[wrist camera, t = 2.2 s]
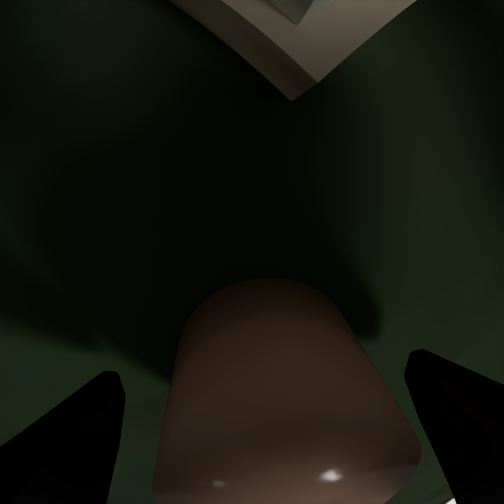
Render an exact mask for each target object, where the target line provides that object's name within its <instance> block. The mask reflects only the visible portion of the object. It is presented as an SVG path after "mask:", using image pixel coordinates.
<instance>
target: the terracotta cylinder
mask: <svg viewBox="0 0 504 504" xmlns="http://www.w3.org/2000/svg"><path fill="white" fill-rule="evenodd" d="M420 457H421V446H420V441H419V439H418V438H417V436H416V434H415V432H414V431H413V429H412V427H411V426H410V424H409V422H408V420H407V419H406V417H405V415H404V414H403V412H402V410H401V409H400V407H399V405H398V404H397V402H396V400H395V399H394V397H393V395H392V394H391V392H390V390H389V389H388V387H387V385H386V384H385V382H384V380H383V379H382V377H381V376H380V374H379V372H378V371H377V369H376V367H375V366H374V364H373V363H372V361H371V359H370V358H369V356H368V355H367V353H366V351H365V350H364V348H363V347H362V345H361V343H360V342H359V340H358V339H357V337H356V335H355V334H354V332H353V331H352V329H351V328H350V326H349V325H348V323H347V321H346V320H345V318H344V317H343V315H342V314H341V312H340V311H339V309H338V307H337V306H336V305H335V304H334V303H333V302H332V300H331V299H330V298H328V297H327V296H326V295H325V294H323V293H322V292H321V291H319V290H317V289H315V288H314V287H312V286H309V285H307V284H305V283H302V282H299V281H295V280H291V279H284V278H256V279H250V280H246V281H241V282H238V283H235V284H232V285H229V286H227V287H225V288H223V289H221V290H219V291H217V292H215V293H214V294H212V295H211V296H209V297H208V298H207V299H205V300H204V301H203V302H202V303H201V304H200V305H199V306H198V307H197V308H196V309H195V310H194V311H193V312H192V314H191V315H190V317H189V318H188V320H187V321H186V323H185V325H184V327H183V330H182V332H181V336H180V340H179V344H178V349H177V354H176V358H175V363H174V368H173V373H172V378H171V383H170V388H169V393H168V398H167V403H166V409H165V414H164V419H163V425H162V430H161V436H160V442H159V448H158V454H157V460H156V466H155V472H154V478H153V485H152V494H153V498H154V500H155V503H156V504H384V503H385V502H386V501H387V500H389V499H390V498H391V497H393V496H394V495H395V494H396V493H397V492H398V491H399V490H400V489H401V488H402V487H403V486H404V485H405V484H406V483H407V482H408V480H409V479H410V478H411V476H412V475H413V473H414V472H415V470H416V468H417V466H418V463H419V460H420Z"/></svg>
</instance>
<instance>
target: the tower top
mask: <svg viewBox="0 0 504 504" xmlns="http://www.w3.org/2000/svg"><path fill="white" fill-rule="evenodd" d="M269 1H270V2H272V3H273V4H274V5H275V6H276V7H277V8H278V9H280V10H281V11H282V12H283V13H284V14H285V15H286V16H287V17H289V18H290V19H291V20H292V21H293V22H294V23H295V24H296V25H297V26H299V25H300V24H302V23H303V22H305V21H306V20H308V19H309V18H310V17H312V16H313V15H315V14H316V13H318V12H319V11H321V10H322V9H324V8H325V7H327V6H328V5H330V4H331V3H333V2H334V1H336V0H269Z"/></svg>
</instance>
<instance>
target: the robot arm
mask: <svg viewBox="0 0 504 504" xmlns="http://www.w3.org/2000/svg"><path fill="white" fill-rule="evenodd" d="M404 377H405V381H406V384H407V387H408V389H409V392H410V395H411V398H412V401H413V403H414V406H415V409H416V412H417V415H418V417H419V420H420V422H421V424H422V426H423V428H424V430H425V433H426V435H427V437H428V439H429V441H430V443H431V445H432V448H433V450H434V452H435V454H436V457H437V459H438V461H439V463H440V466H441V468H442V470H443V472H444V475H445V477H446V479H447V482H448V484H449V487H450V489H451V491H452V494H453V496H454V499H455V501H456V504H504V385H503V384H501V383H499V382H496V381H494V380H492V379H489V378H487V377H485V376H483V375H480V374H478V373H476V372H474V371H471V370H469V369H467V368H465V367H462V366H460V365H458V364H456V363H453V362H451V361H449V360H447V359H444V358H442V357H440V356H438V355H436V354H433V353H431V352H429V351H427V350H424V349H420V350H415V351H412V352H411V353H410V355H409V359H408V362H407V366H406V369H405V373H404ZM124 407H125V392H124V389H123V386H122V383H121V380H120V377H119V374H118V373H117V372H114V371H103V372H102V373H100V374H99V375H98V376H96V377H95V378H94V379H92V380H91V381H89V382H88V383H87V384H85V385H84V386H83V387H81V388H80V389H79V390H77V391H76V392H75V393H73V394H72V395H71V396H69V397H68V398H66V399H65V400H64V401H62V402H61V403H60V404H58V405H57V406H56V407H54V408H53V409H52V410H50V411H49V412H48V413H46V414H45V415H43V416H42V417H41V418H39V419H38V420H37V421H35V422H34V423H33V424H31V425H30V426H28V427H27V428H26V429H24V430H23V431H22V433H21V432H20V433H19V434H17V435H16V436H15V437H13V438H12V439H11V440H9V441H8V442H6V443H5V444H3V445H2V446H0V504H107V499H108V494H109V490H110V485H111V480H112V476H113V471H114V467H115V463H116V458H117V454H118V450H119V445H120V438H121V430H122V422H123V414H124Z"/></svg>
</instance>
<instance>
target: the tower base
mask: <svg viewBox="0 0 504 504" xmlns="http://www.w3.org/2000/svg"><path fill="white" fill-rule="evenodd" d="M169 1H170V2H172V3H173V4H174V5H176V6H177V7H179V8H180V9H182V10H183V11H184V12H186V13H187V14H188V15H190V16H191V17H192V18H194V19H195V20H197V21H198V22H199V23H201V24H202V25H203V26H204V27H206V28H207V29H208V30H210V31H211V32H212V33H213V34H215V35H216V36H217V37H219V38H220V39H221V40H222V41H224V42H225V43H226V44H227V45H228V46H230V47H231V48H232V49H233V50H234V51H236V52H237V53H238V54H239V55H240V56H242V57H243V58H244V59H245V60H246V61H247V62H249V63H250V64H251V65H252V66H253V67H254V68H255V69H257V70H258V71H259V72H260V73H261V74H262V75H263V76H264V77H266V78H267V79H268V80H269V81H270V82H271V83H272V84H273V85H274V86H275V87H276V88H278V89H279V90H280V91H281V92H282V93H283V94H284V95H285V96H286V97H287V98H288V99H289V100H290V101H293V100H294V99H295V98H297V97H298V96H300V95H301V94H303V93H304V92H305V91H307V90H308V89H310V88H311V87H313V86H314V85H316V84H317V83H318V82H319V81H321V80H322V79H323V78H324V77H325V76H326V75H327V74H328V73H329V72H331V71H332V70H333V69H334V68H335V67H336V66H337V65H338V64H339V63H341V62H342V61H343V60H344V59H345V58H346V57H347V56H349V55H350V54H351V53H352V52H353V51H354V50H356V49H357V48H358V47H359V46H360V45H361V44H363V43H364V42H365V41H366V40H367V39H368V38H370V37H371V36H372V35H373V34H374V33H376V32H377V31H378V30H379V29H381V28H382V27H383V26H384V25H385V24H387V23H388V22H389V21H390V20H392V19H393V18H394V17H395V16H397V15H398V14H399V13H400V12H402V11H403V10H404V9H406V8H407V7H408V6H409V5H411V4H412V3H413V2H415V1H416V0H336V1H334V2H333V3H331V4H330V5H328V6H327V7H325V8H324V9H322V10H321V11H319V12H318V13H316V14H315V15H313V16H312V17H310V18H309V19H308V20H306V21H305V22H303V23H302V24H300V25H299V26H297V25H296V24H295V23H294V22H293V21H292V20H291V19H290V18H289V17H287V16H286V15H285V14H284V13H283V12H282V11H281V10H280V9H278V8H277V7H276V6H275V5H274V4H273V3H272V2H270V1H269V0H169Z"/></svg>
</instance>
